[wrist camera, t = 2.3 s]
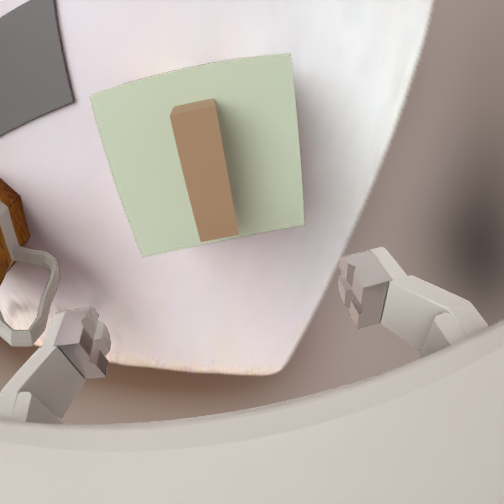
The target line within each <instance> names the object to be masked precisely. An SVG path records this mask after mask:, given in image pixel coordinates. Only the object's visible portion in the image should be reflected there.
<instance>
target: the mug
mask: <svg viewBox="0 0 504 504" xmlns="http://www.w3.org/2000/svg"><path fill="white" fill-rule="evenodd" d="M29 238H30V234H29V230H28V227H27V223H26V219H25V215H24V211H23V207H22V203H21V198H20V195H18V194H17V193H16V192H15V191H14V190H13V189H12V188H11V187H9V186H8V185H7V184H6V183H5V182H4V181H3V180H2V179H1V178H0V285H1V283H2V281H3V279H4V277H5V275H6V273H7V272H8V271H9V269H10V268H11V267H12V266H13V265H14V264H15V262H16V261H17V262H21V263H25V264H30V265H39V266H44V267H45V268H46V269H48V270H49V271H50V279H49V281H48V283H47V286H46V288H45V290H44V293H43V295H42V297H41V300H40V305H39V310H38V315H37V318H36V319H35V321H34V322H33V324H32V325H31V327H30V328H29V330H13V329H12V328H11V327H10V326H9V325H8V324H7V323H6V322H5V321H4V319H3V316H2V313H1V311H0V336H1V337H2V338H3V339H4V340H5V341H7V342H8V343H9V344H10V345H11V346H32V345H33V344H34V343H35V342H36V340H37V339H38V338H39V337H40V335H41V334H42V333H43V332H44V330H45V328H46V323H47V319H48V314H49V310H50V306H51V303H52V300H53V298H54V295H55V293H56V290H57V286H58V283H59V280H60V273H59V266H58V260H57V259H56V258H55V257H53V256H52V255H51V254H49V253H48V252H47V251H42V250H36V249H30V248H26V247H24V246H25V245H26V243H27V241H28V240H29Z"/></svg>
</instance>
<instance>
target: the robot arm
mask: <svg viewBox="0 0 504 504" xmlns="http://www.w3.org/2000/svg"><path fill="white" fill-rule="evenodd" d="M339 268H340V270H341V271H342V274H341V275H340V276H339V278H338V287H339V293H340V296H341V299H342V301H343V303H344V305H346V306H347V307H350V314H349V315H350V317H351V318H352V320H353V322H354V324H355V326H356V328H357V329H360V328H363V327H367V326H370V325H374V324H378V323H381V325H383V326H384V327H386V328H387V329H389V330H390V331H392V332H393V333H394V334H396V335H397V336H399V337H400V338H402V339H403V340H405V341H406V342H408V343H409V344H411V345H412V346H413V347H415V348H416V349H418V350H419V351H421V352H420V355H419V357H418V359H417V360H415V361H413V362H410V363H408V364H405V365H402V366H400V367H397V368H394V369H391V370H389V371H386V372H383V373H381V374H377V375H374V376H372V377H369V378H365V379H362V380H359V381H356V382H353V383H350V384H347V385H344V386H340V387H337V388H333V389H330V390H326V391H323V392H319V393H316V394H312V395H308V396H304V397H300V398H296V399H292V400H288V401H283V402H279V403H274V404H270V405H265V406H260V407H255V408H250V409H245V410H240V411H234V412H228V413H221V414H215V415H208V416H201V417H194V418H186V419H177V420H167V421H156V422H143V423H125V424H93V425H92V424H66V423H65V422H63V421H62V420H61V419H62V418H63V416H64V414H65V413H66V411H67V409H68V408H69V406H70V404H71V403H72V401H73V400H74V398H75V396H76V395H77V393H78V392H79V390H80V389H81V387H82V385H83V384H84V382H85V379H91V378H100V377H106V372H107V366H108V360H107V358H106V357H105V356H106V355H107V353H108V352H109V351H110V347H111V340H110V334H109V331H108V329H107V327H106V326H105V324H104V323H102V322H100V321H99V320H98V317H99V314H98V313H97V311H96V310H95V308H92V307H88V308H81V309H74V310H68V311H62V312H57V313H55V314H54V315H53V318H52V321H51V323H50V326H49V329H48V332H47V335H46V338H45V341H44V344H43V347H42V348H39V349H38V350H37V351H36V352H35V353H34V354H33V355H32V356H31V357H30V359H28V361H27V362H26V363H25V364H24V365H23V366H22V367H21V368H20V370H19V371H18V372H17V373H16V374H15V375H14V377H12V379H11V380H10V381H9V382H8V383H7V384H6V386H5V387H4V388H3V389H2V390H1V393H0V504H504V319H503V320H501V321H499V322H497V323H496V324H494V325H492V326H490V327H489V326H488V324H487V323H486V322H485V321H484V319H483V318H482V317H481V315H480V314H479V313H478V311H477V310H476V309H475V308H474V306H473V305H472V304H471V302H469V301H467V300H465V299H463V298H461V297H459V296H457V295H455V294H452V293H450V292H448V291H446V290H443V289H441V288H439V287H437V286H435V285H432V284H430V283H428V282H426V281H423V280H421V279H419V278H417V277H414V276H412V275H410V276H407V275H406V273H405V272H404V271H403V270H402V268H401V267H400V266H399V265H398V263H397V262H396V261H395V260H394V258H393V257H392V256H391V255H390V254H389V252H388V251H387V250H386V249H385V248H384V247H379V248H375V249H371V250H368V251H364V252H360V253H356V254H351V255H347V256H343V257H341V258H340V260H339Z"/></svg>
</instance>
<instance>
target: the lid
mask: <svg viewBox="0 0 504 504" xmlns="http://www.w3.org/2000/svg"><path fill="white" fill-rule="evenodd" d="M89 97H90V101H91V105H92V108H93V112H94V116H95V120H96V123H97V127H98V130H99V134H100V137H101V141H102V144H103V147H104V151H105V154H106V157H107V160H108V164H109V167H110V170H111V173H112V176H113V179H114V182H115V185H116V188H117V191H118V194H119V197H120V200H121V202H122V205H123V208H124V211H125V214H126V216H127V219H128V222H129V224H130V227H131V230H132V232H133V235H134V238H135V240H136V243H137V245H138V248H139V250H140V253H141V255H142V257H147V256H151V255H156V254H161V253H166V252H170V251H175V250H180V249H185V248H190V247H195V246H199V245H204V244H209V243H214V242H219V241H224V240H229V239H234V238H239V237H244V236H249V235H254V234H259V233H264V232H269V231H274V230H280V229H285V228H290V227H295V226H300V225H305V223H304V204H303V187H302V171H301V157H300V144H299V132H298V120H297V109H296V99H295V89H294V80H293V71H292V62H291V54H275V55H265V56H256V57H248V58H240V59H233V60H227V61H221V62H215V63H209V64H204V65H198V66H193V67H189V68H184V69H179V70H175V71H171V72H166V73H162V74H158V75H155V76H151V77H147V78H143V79H140V80H136V81H133V82H129V83H126V84H123V85H120V86H116V87H113V88H110V89H107V90H104V91H101V92H98V93H95V94H93V95H91V96H89Z"/></svg>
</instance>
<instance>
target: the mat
mask: <svg viewBox="0 0 504 504" xmlns="http://www.w3.org/2000/svg"><path fill="white" fill-rule="evenodd" d="M71 102H74V98H73V94H72V90H71V86H70V82H69V77H68V73H67V68H66V64H65V59H64V54H63V49H62V44H61V39H60V33H59V28H58V22H57V15H56V8H55V1H54V0H30V1H28V2H26V3H24V4H22V5H21V6H19V7H17V8H16V9H14V10H12V11H11V12H9V13H7V14H6V15H4V16H2V17H1V18H0V135H2V134H4V133H6V132H8V131H10V130H11V129H13V128H15V127H17V126H19V125H21V124H23V123H26V122H28V121H30V120H32V119H34V118H36V117H38V116H40V115H43V114H45V113H47V112H50V111H52V110H54V109H57V108H59V107H61V106H64V105H66V104H69V103H71Z"/></svg>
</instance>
